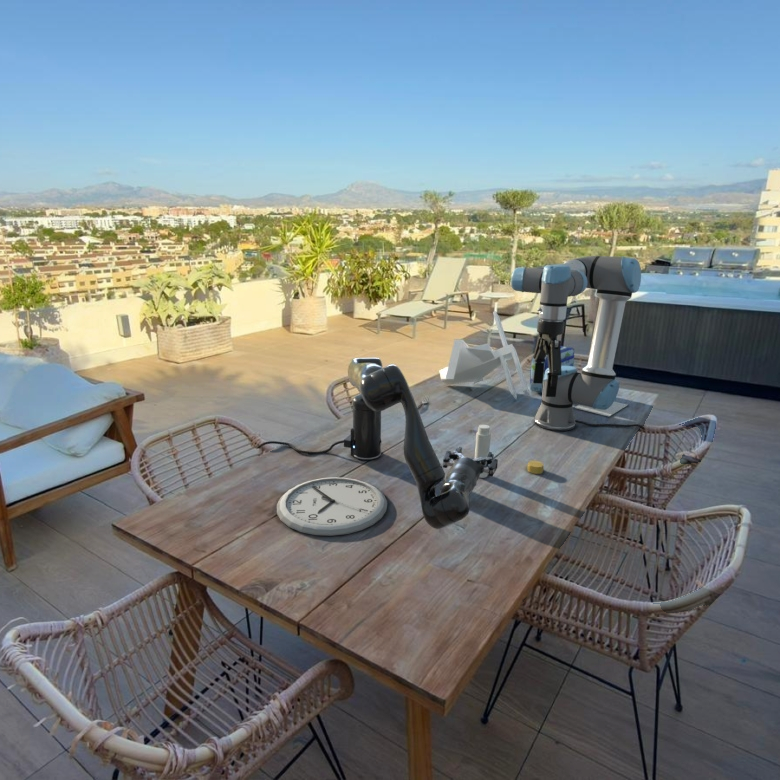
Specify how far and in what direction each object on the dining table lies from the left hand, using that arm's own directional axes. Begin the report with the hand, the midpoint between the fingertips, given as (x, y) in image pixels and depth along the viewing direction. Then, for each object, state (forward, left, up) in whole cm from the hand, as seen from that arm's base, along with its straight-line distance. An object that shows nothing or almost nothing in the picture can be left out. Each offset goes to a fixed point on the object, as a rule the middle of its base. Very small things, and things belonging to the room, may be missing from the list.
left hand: (475, 452), depth 148 cm
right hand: (+16, +22, +14) cm, 30 cm away
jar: (0, +11, -12) cm, 17 cm away
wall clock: (-34, -23, -12) cm, 43 cm away
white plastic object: (-17, +96, -12) cm, 98 cm away
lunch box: (+13, +112, -12) cm, 114 cm away
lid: (+16, +21, -10) cm, 28 cm away
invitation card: (+36, +96, -12) cm, 103 cm away
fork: (-36, +66, -12) cm, 76 cm away
